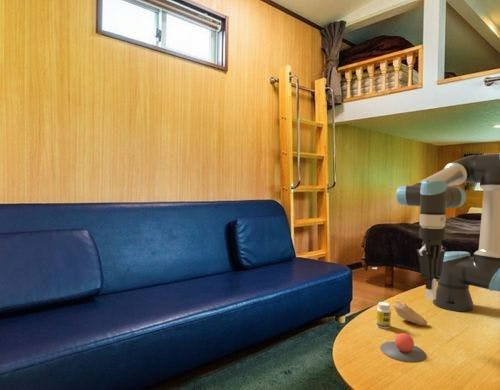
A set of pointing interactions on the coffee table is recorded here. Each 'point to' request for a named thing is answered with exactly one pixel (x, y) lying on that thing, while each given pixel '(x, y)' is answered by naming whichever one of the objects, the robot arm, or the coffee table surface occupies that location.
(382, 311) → the supplement bottle
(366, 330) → the coffee table surface
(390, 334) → the coffee table surface
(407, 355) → the disc
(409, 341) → the ball
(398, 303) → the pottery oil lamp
